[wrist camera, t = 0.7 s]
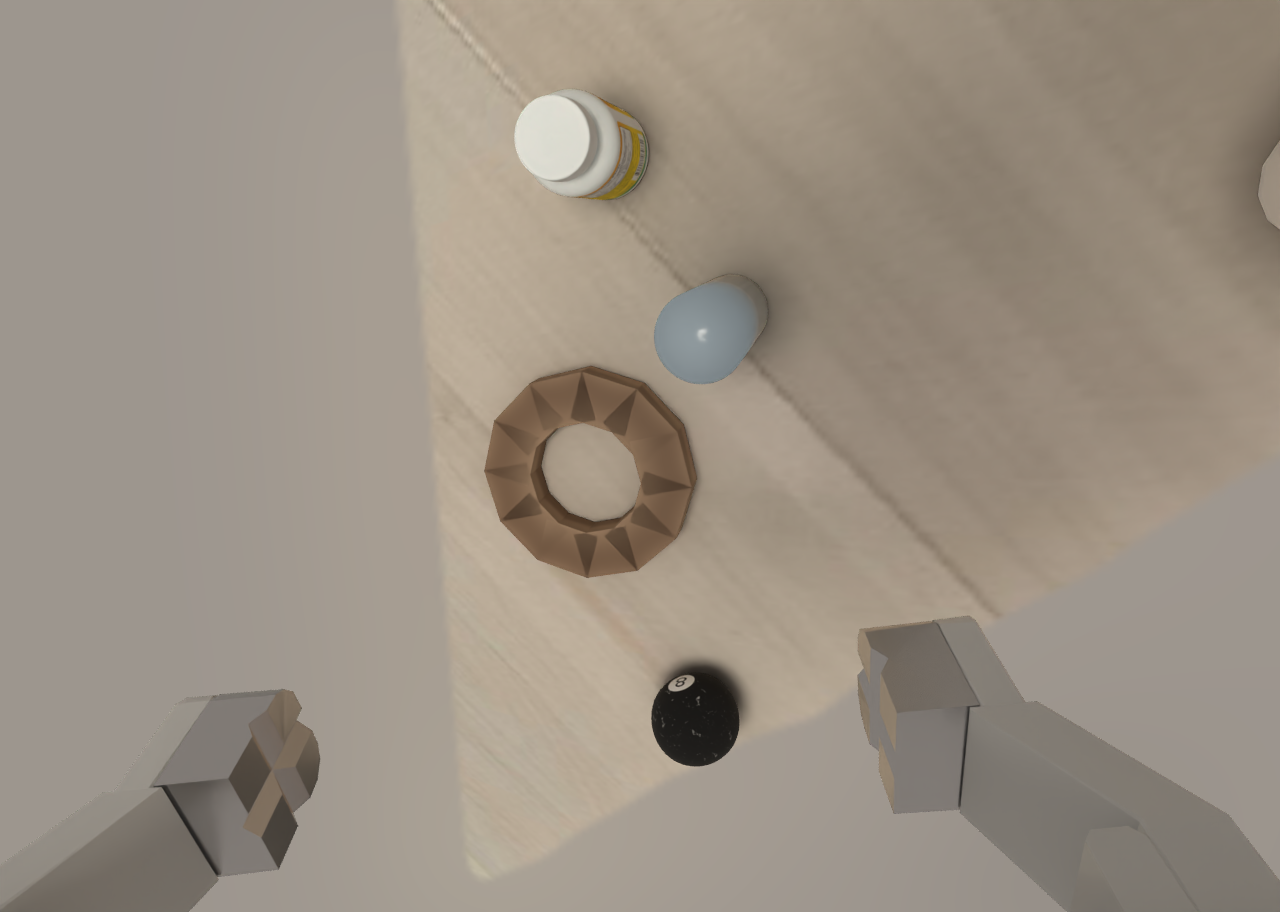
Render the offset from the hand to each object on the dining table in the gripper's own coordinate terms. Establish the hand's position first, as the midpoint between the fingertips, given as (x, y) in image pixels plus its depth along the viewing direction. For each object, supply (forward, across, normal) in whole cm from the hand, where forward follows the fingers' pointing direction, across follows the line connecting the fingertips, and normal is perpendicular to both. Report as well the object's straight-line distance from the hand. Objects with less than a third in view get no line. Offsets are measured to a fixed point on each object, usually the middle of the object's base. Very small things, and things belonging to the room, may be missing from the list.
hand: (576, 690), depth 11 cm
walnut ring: (+38, +4, +17) cm, 42 cm away
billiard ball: (+34, -1, +34) cm, 48 cm away
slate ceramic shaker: (+38, -6, +7) cm, 39 cm away
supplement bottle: (+42, 0, -3) cm, 42 cm away
